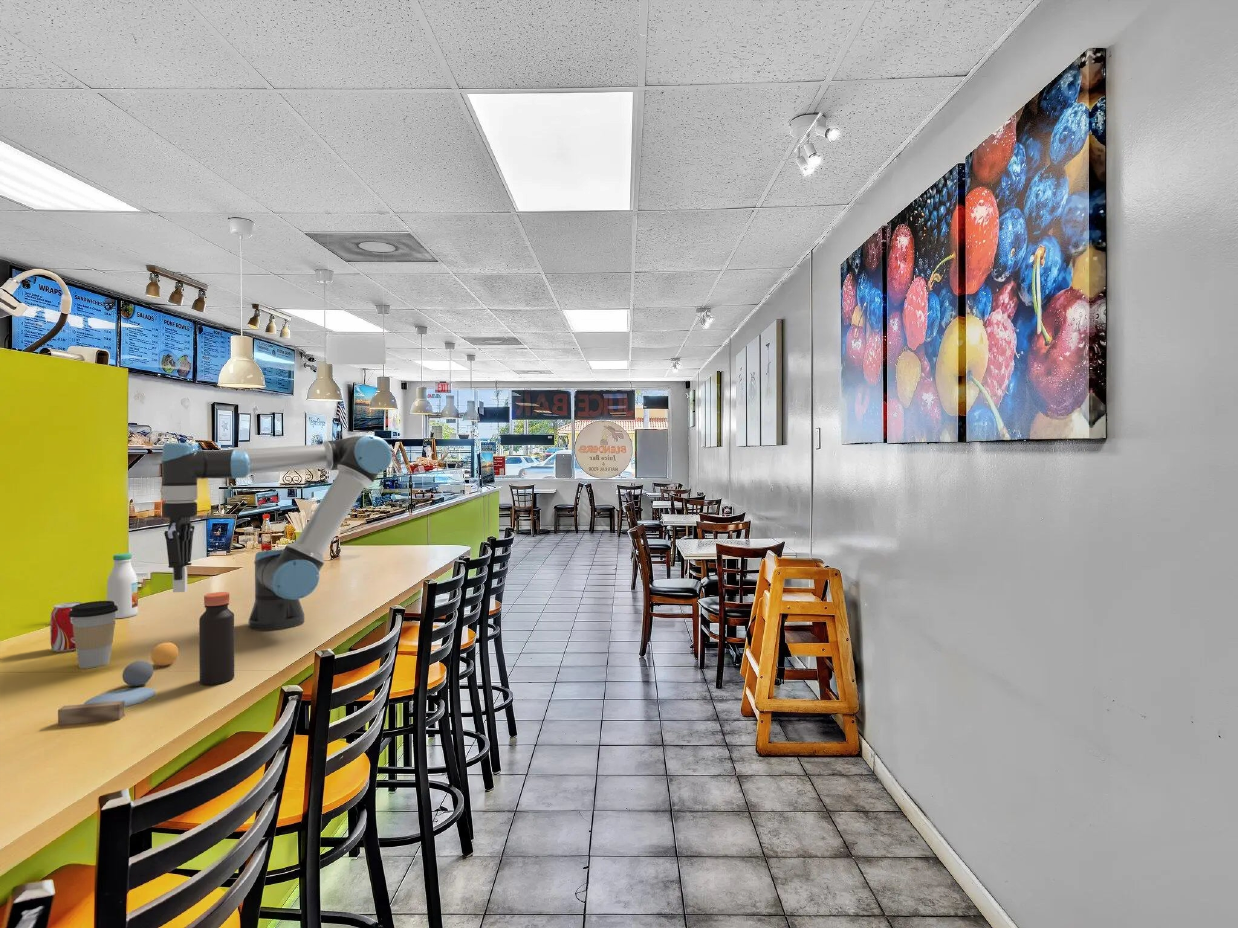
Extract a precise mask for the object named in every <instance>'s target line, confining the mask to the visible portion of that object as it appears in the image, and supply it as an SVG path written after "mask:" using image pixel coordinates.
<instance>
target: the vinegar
mask: <svg viewBox="0 0 1238 928" xmlns="http://www.w3.org/2000/svg"><path fill="white" fill-rule="evenodd" d="M203 601H204V602H203V604H204V608H205V611H204V612H203V613H202V614H201V615H200V616H199V621H198V623H199V627H198V629H199V630H198V631H199V634H198V636H199V637H198V639H199V643H198V644H199V646H198V648H199V651H198V652H199V654H198V655H199V683H200V684H201V685H203V686H214V685H220V684H225V683H228V682H230V681H232V680H233V679H234V678H235V613H234V612H233V611H232V610H230V609H229V608H228V607H229V605H230V592H226V591H219V592H218V591H217V592H216V591H215V592H211V593H210V592H209V593H206V594H205V595H204V596H203Z"/></svg>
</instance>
